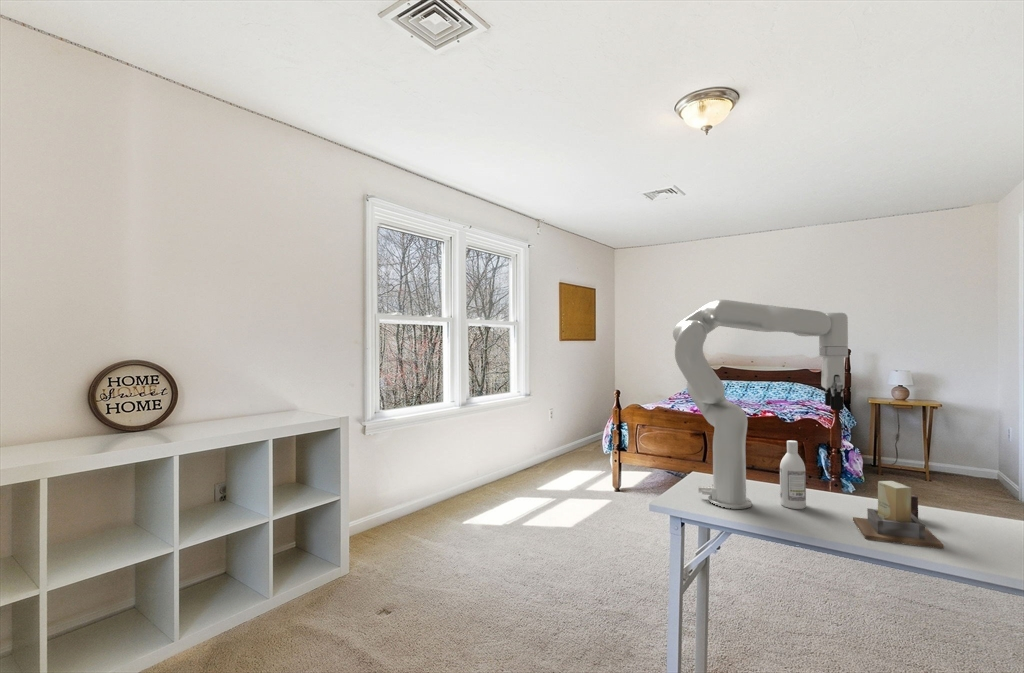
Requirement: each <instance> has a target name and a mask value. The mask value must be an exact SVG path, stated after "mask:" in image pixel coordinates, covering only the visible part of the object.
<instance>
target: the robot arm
mask: <svg viewBox="0 0 1024 673" xmlns="http://www.w3.org/2000/svg"><path fill="white" fill-rule="evenodd" d="M848 321H849V320H848V315H847V314H846V313H845V312H823V311H819V310H812V309H804V308H798V307H797V308H796V307H788V306H787V307H785V306H779V305H778V306H777V305H769V304H761V303H755V302H753V303H752V302H746V301H738V300H732V299H731V300H730V299H717V300H712V301H710V302H707V303H706V304H704V305H703V306H702V307H700V308H699V309H698V310H696V311H695V312H692V313H691V314H690V315H688V316H687V317H685V318H683V319H682V320H681V321H679V322H678V323H676V325H675V327H674V328H673V332H672V337H673V339H674V341H675V345H674V358H675V362H676V364H677V367H678V368H679V370H680V372H681V373H682V375H683V377H684V378H685V380H686V381H687V382H686V389H687V393H688V395H689V396H690V399H691V400H692V402H694V404H695V406H696V407H697V409H698V410H699V411H700V413H701V415H702V416H703V417H704V419H705V420H706V421H707V424H710V426H712V427H714V432H713V436H712V482H713V483H712V484H711V485H712V486H708V487H705V486H701V485H700V486H698V493H701V495H707V496H708V497H707V499H708V500H709V501H710V502H711V504H712V503H713V504H715V505H714V506H716V505H718V506H717V507H719V506H721V507H720V508H723V507H725V508H724V509H730V508H731V509H730V510H732V509H733V510H743V509H749V508H750V507H752V506H753V505H752V504H753V502H752V500H751V499H750V498H748V497H747V461H746V460H747V459H746V458H747V457H746V456H747V454H746V451H747V450H746V442H747V439H746V438H747V433H748V423H749V422H748V416H747V414H746V411H745V410H744V409H743V408H742V407H741V406H740V405H738V404H736V403H733V402H731V401H729V400H728V399H727V397H726V396H725V394H726V389H725V385H724V383H723V381H722V380H721V379H720V378H719V376H718V375H717V374H716V372H715V370H714V369H713V368H712V366H711V365H710V363H709V362H708V360H707V359H706V357H705V354H704V344H705V342H706V339H707V337H708V336H707V335H708V334H711V332H713V331H714V330H715V329H716V328H719V327H722V328H723V327H724V328H732V329H738V330H739V329H740V330H747V331H754V332H763V333H764V332H765V333H772V332H775V333H776V332H777V333H781V332H783V333H791V334H792V333H793V334H794V335H796V336H799V337H818V340H819V341H818V344H819V346H818V347H819V348H818V349H819V350H818V351H819V353H818V354H819V356H818V357H819V358H822V361H821V376H820V377H821V381H820V382H821V384H820V386H821V387H822V388H823V389H825V393H824V405H825V406H830V410H833V411H844V391H843V390H844V389H845V379H846V378H845V377H846V376H845V373H846V372H845V358H849V330H848V329H849V328H848V326H849V325H848V324H849V322H848ZM709 501H708V502H709ZM710 502H709V503H710ZM713 504H712V505H713Z"/></svg>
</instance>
